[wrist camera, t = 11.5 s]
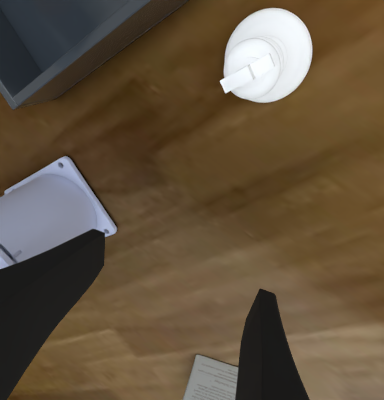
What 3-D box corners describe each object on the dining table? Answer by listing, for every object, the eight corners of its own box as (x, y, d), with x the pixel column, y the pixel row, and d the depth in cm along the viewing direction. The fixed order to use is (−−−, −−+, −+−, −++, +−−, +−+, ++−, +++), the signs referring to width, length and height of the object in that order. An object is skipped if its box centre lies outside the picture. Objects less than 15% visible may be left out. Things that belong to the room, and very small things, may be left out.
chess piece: (211, 39, 17) (138, 38, 9) (293, -13, 15) (297, -77, 7) (245, 115, 19) (208, 175, 10) (324, 78, 17) (358, 117, 8)
